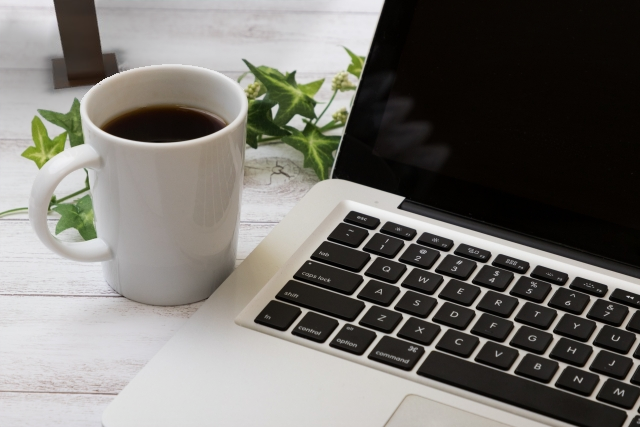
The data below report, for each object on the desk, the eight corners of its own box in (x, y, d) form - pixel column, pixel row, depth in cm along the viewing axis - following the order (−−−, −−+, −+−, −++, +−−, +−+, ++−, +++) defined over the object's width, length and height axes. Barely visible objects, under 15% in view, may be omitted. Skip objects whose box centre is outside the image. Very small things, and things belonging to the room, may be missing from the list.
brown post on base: (52, 53, 90) (20, -108, 79) (112, 47, 92) (90, -111, 81) (57, 113, 80) (21, -62, 69) (125, 105, 82) (102, -67, 70)
